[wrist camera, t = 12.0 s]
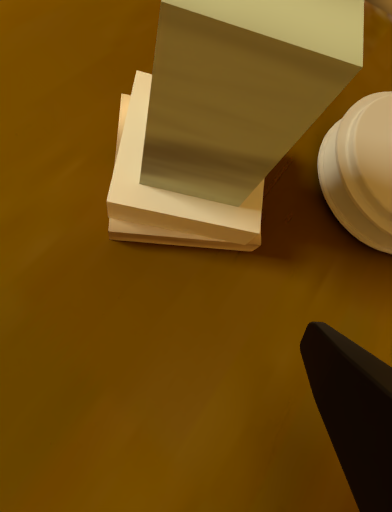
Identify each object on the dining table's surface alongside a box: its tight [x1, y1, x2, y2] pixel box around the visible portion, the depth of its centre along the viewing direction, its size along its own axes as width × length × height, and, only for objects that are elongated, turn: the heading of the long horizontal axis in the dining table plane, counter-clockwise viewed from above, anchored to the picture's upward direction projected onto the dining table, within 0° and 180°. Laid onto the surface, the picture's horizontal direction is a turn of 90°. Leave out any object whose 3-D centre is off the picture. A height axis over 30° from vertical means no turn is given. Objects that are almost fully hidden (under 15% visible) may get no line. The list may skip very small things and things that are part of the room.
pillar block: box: [139, 0, 364, 207], centre depth 15 cm, size 6×6×11 cm
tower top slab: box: [107, 71, 265, 245], centre depth 22 cm, size 9×9×2 cm
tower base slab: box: [108, 94, 261, 252], centre depth 24 cm, size 10×10×2 cm
